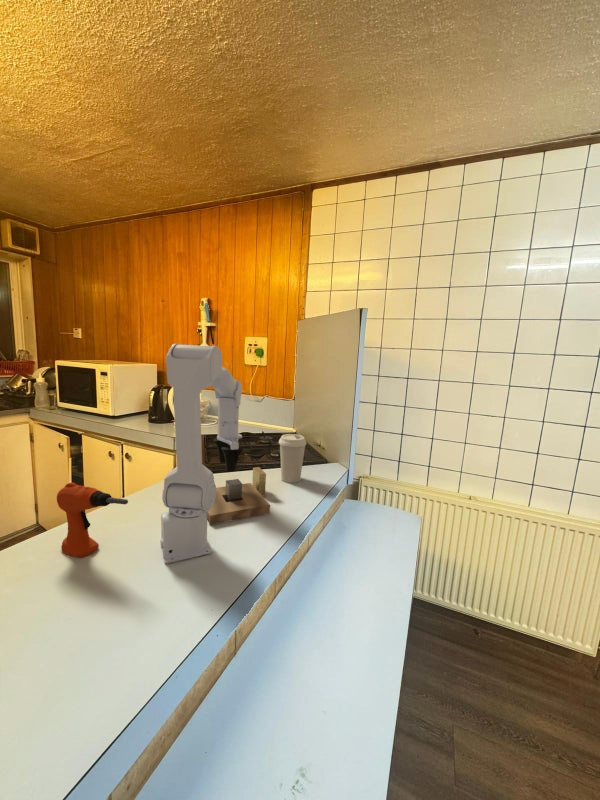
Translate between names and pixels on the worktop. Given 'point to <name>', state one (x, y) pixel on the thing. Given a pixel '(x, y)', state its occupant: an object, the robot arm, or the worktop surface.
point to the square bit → (233, 490)
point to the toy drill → (81, 517)
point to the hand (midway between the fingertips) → (227, 466)
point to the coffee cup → (291, 456)
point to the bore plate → (237, 506)
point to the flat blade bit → (259, 480)
